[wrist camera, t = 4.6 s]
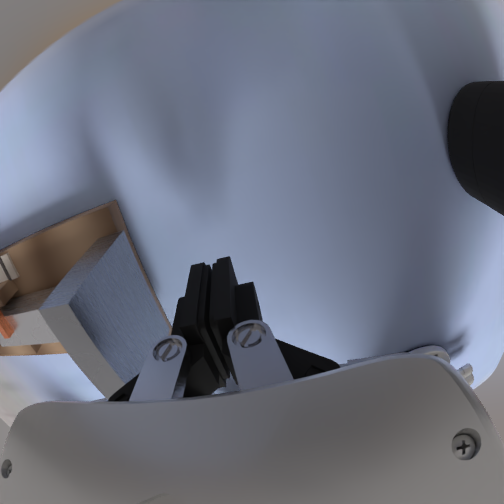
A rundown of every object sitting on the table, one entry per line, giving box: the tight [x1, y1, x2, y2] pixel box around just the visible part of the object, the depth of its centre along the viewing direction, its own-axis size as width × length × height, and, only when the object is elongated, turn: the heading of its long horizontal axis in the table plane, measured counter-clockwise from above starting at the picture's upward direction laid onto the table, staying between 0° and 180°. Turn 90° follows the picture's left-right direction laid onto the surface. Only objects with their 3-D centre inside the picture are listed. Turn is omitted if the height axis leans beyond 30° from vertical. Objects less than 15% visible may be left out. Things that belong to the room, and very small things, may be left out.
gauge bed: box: [0, 200, 172, 356], centre depth 14 cm, size 24×9×3 cm, turn 103°
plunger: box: [0, 230, 169, 400], centre depth 11 cm, size 14×8×6 cm, turn 103°
